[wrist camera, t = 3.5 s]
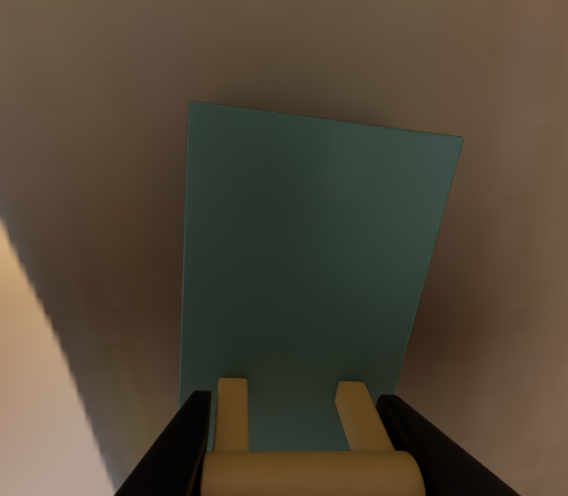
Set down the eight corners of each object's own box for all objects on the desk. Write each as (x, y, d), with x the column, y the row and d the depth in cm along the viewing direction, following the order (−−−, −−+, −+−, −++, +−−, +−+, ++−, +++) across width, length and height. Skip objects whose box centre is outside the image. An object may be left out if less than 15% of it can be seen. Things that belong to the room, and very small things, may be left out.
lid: (352, 517, 12) (398, 683, 8) (176, 522, 11) (145, 710, 7) (452, 136, 8) (616, 148, 4) (191, 101, 7) (143, 82, 4)
